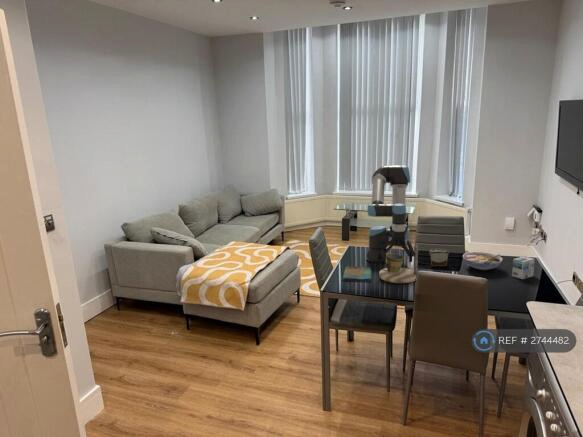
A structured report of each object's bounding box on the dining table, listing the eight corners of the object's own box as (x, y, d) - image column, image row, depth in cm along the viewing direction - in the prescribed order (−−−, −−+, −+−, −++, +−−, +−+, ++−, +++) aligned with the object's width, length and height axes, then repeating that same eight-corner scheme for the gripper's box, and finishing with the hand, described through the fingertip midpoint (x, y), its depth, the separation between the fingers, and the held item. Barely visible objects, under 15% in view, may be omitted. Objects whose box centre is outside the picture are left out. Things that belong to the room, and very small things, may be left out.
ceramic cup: (400, 276, 232) (402, 260, 230) (383, 273, 235) (385, 257, 233) (403, 269, 244) (405, 254, 241) (386, 266, 247) (388, 251, 245)
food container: (446, 262, 264) (446, 248, 262) (448, 265, 258) (449, 250, 256) (427, 262, 265) (427, 248, 263) (429, 265, 259) (429, 251, 257)
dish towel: (342, 281, 239) (342, 277, 239) (344, 268, 262) (344, 265, 261) (371, 282, 236) (371, 278, 235) (371, 269, 258) (371, 265, 258)
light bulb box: (522, 279, 229) (523, 261, 227) (511, 276, 235) (512, 258, 233) (533, 276, 234) (535, 258, 232) (522, 272, 240) (524, 255, 238)
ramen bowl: (471, 260, 267) (471, 248, 265) (508, 267, 251) (509, 254, 249) (454, 269, 250) (455, 257, 248) (493, 278, 234) (494, 264, 232)
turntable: (372, 278, 237) (372, 247, 233) (389, 267, 253) (390, 239, 249) (407, 286, 223) (408, 253, 219) (423, 274, 239) (424, 244, 235)
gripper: (376, 229, 237) (376, 262, 242) (416, 234, 221) (415, 270, 226) (382, 226, 243) (382, 259, 248) (422, 231, 227) (421, 267, 232)
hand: (398, 264), depth 237 cm, fingers open, 13 cm apart
